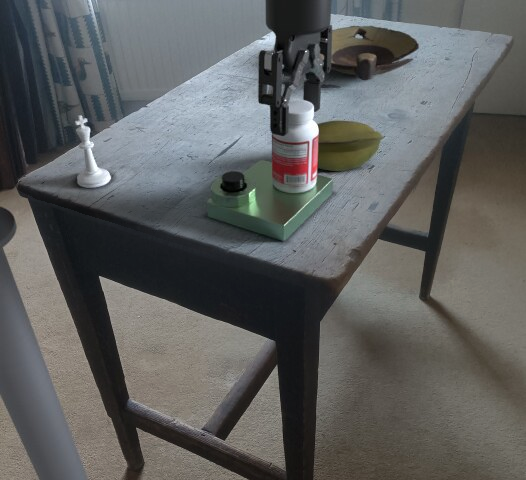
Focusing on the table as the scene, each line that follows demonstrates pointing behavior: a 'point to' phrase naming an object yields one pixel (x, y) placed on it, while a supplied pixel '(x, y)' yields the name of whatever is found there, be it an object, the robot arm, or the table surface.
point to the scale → (266, 203)
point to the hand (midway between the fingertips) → (295, 121)
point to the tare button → (233, 181)
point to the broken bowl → (369, 50)
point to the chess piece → (89, 160)
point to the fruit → (345, 145)
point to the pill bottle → (296, 150)
